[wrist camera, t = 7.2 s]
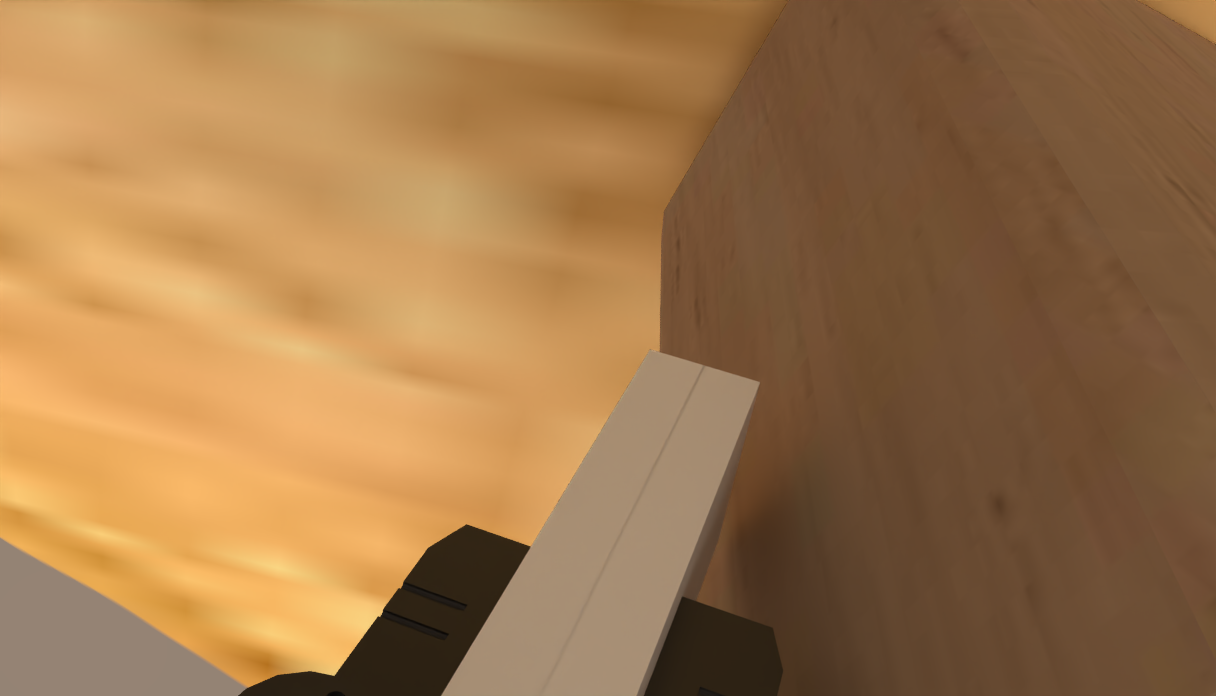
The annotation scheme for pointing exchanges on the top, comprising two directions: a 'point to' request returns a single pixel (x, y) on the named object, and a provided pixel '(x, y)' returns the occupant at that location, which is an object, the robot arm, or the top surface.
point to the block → (964, 346)
